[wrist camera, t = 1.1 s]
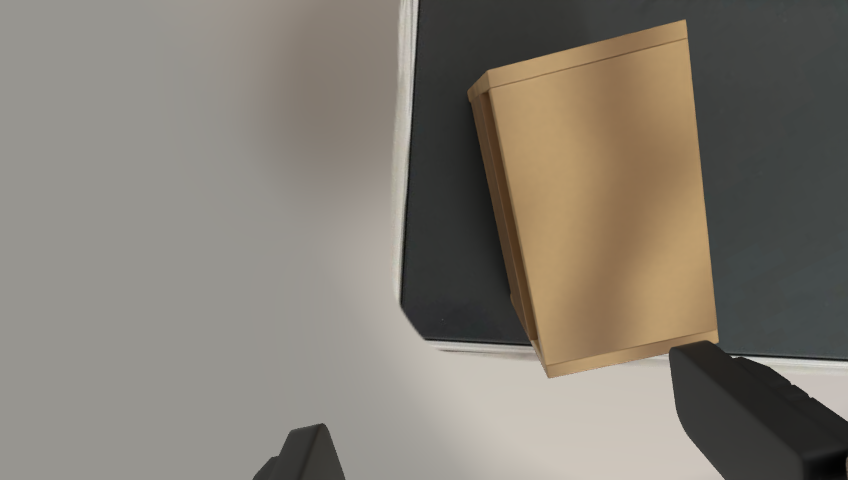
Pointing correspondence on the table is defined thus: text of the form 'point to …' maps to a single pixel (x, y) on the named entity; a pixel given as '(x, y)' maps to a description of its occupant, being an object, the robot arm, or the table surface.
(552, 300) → the wooden drawer chest
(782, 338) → the table surface
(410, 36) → the table surface
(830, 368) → the table surface
